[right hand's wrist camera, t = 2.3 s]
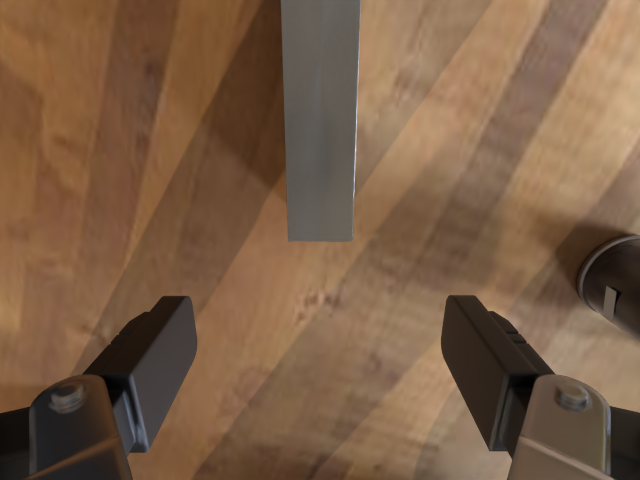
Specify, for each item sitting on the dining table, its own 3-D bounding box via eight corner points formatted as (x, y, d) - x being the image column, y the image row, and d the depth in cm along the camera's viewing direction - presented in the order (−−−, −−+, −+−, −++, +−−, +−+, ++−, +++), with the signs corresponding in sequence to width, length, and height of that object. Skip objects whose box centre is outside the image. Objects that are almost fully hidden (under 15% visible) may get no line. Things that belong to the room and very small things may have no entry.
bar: (345, 212, 38) (352, 241, 29) (295, 212, 38) (288, 241, 29) (353, -115, 28) (368, -207, 20) (287, -115, 28) (273, -207, 20)
